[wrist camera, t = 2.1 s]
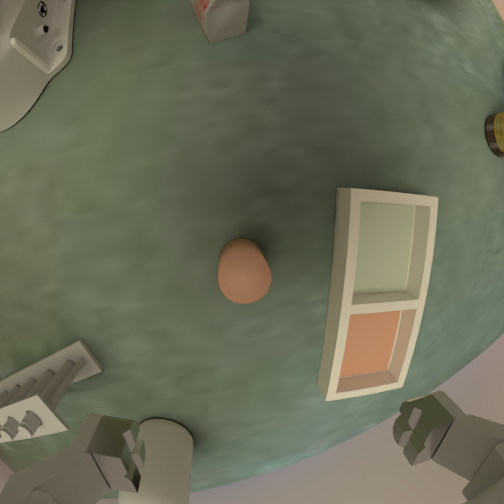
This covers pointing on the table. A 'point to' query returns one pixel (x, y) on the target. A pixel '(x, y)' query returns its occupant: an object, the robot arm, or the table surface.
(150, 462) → the milk bottle
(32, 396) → the test tube rack
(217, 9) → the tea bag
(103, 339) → the table surface
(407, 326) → the sorting tray
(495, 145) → the sauce bottle
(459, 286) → the table surface
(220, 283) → the brown egg
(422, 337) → the table surface
